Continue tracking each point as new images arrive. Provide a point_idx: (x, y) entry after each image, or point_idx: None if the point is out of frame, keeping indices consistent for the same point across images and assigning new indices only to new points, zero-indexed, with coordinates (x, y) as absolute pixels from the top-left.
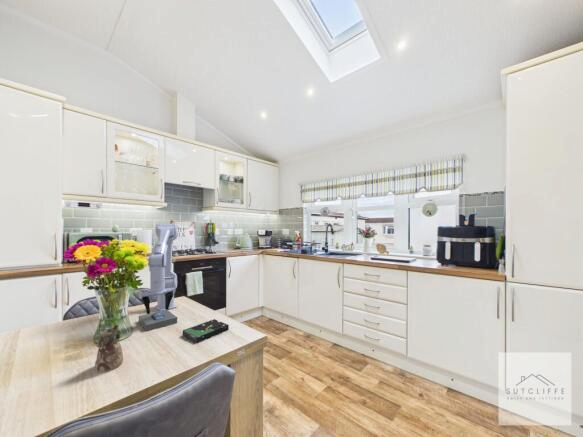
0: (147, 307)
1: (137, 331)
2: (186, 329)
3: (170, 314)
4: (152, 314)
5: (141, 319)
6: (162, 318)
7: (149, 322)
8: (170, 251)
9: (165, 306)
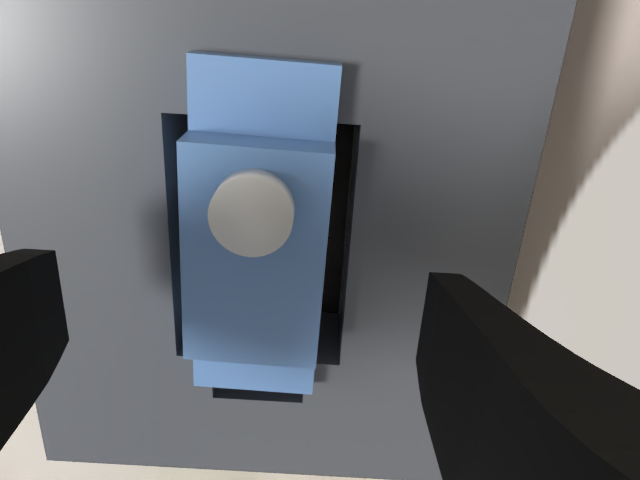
0: (548, 348)
1: (636, 56)
2: None
3: (35, 186)
4: (310, 371)
5: None
6: (222, 56)
7: (489, 40)
8: None
9: (42, 369)
